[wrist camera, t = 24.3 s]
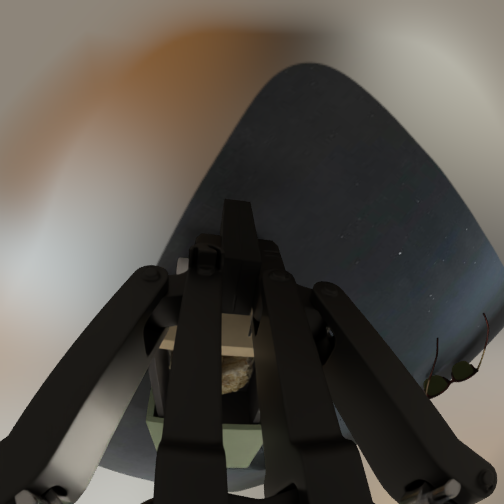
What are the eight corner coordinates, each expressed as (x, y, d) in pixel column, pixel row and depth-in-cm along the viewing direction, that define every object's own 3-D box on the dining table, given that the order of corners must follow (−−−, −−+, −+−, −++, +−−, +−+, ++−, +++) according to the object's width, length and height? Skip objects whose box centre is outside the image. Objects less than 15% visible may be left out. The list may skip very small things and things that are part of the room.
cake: (238, 378, 34) (237, 415, 30) (162, 361, 32) (155, 398, 27) (270, 335, 29) (273, 378, 24) (176, 311, 27) (167, 356, 22)
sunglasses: (415, 384, 44) (425, 402, 40) (426, 335, 38) (440, 355, 34) (468, 356, 43) (479, 372, 39) (485, 305, 37) (500, 321, 32)
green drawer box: (156, 362, 34) (145, 420, 26) (264, 371, 36) (271, 429, 28) (165, 419, 43) (161, 462, 35) (244, 425, 45) (247, 467, 37)
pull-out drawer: (150, 227, 23) (125, 275, 17) (301, 244, 25) (323, 295, 19) (161, 380, 35) (154, 425, 28) (256, 388, 37) (260, 432, 30)
